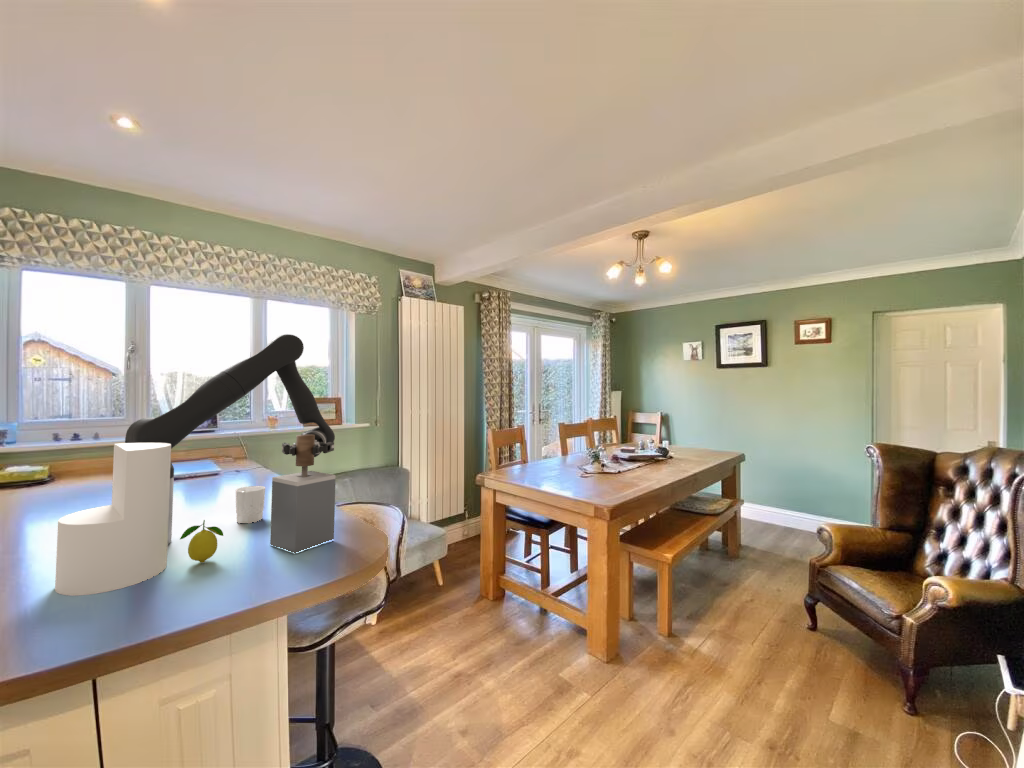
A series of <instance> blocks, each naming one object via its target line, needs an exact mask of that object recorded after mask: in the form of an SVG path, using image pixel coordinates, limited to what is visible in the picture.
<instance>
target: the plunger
mask: <svg viewBox="0 0 1024 768" xmlns="http://www.w3.org/2000/svg"><path fill="white" fill-rule="evenodd" d="M295 443H296V455H295V466H296V467H301V472H302V478H304V477H307V474H308V471H309V470H308V468H309V467H310V466H311V467H312V466H314V465H315V457H314V455H313V446H314V444H315V435H310V434H306V435H301V434H296V441H295Z"/></svg>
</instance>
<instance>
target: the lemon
mask: <svg viewBox="0 0 1024 768" xmlns="http://www.w3.org/2000/svg"><path fill="white" fill-rule="evenodd" d="M205 522H206V521H205V519H203V522H202V524H201V525H192V526H190V527H188V528H187V529H185V531H184V532H183V533H182V535H181V536H180V537H179V540H183V539H185V538H187V537H188V536H190V535H191V534H192V533H194V532H196V531H197V530H199V528H201V526H202V529H201V531H199V532H197V533H196V534H195V535H194V536H192V538H191V539H190V541H189V544H188V548H187V553H188V557H189V559H191V560H192V561H195V562H200V563H201V564H204V563H205V562H206V561H207V560H208V559H210V558H212V557H213V556H214V555H215V553H216V552H217V549H218V539H217V536H216V535H219V536H222V537H223V536H224V532H223V530H222V529H221V528H220V527H218V526H205ZM205 528H206V529H205Z"/></svg>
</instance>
